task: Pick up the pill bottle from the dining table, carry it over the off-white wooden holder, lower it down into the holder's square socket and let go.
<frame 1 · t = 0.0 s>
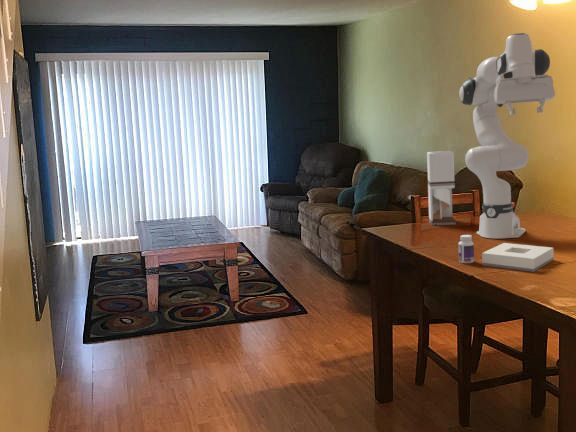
hand: (526, 113, 206), 52 cm above the table, tool tilted 20°, fingers open, 8 cm apart
pill bottle: (466, 262, 212), on the table
white dispenser: (442, 223, 288), on the table
socket holder: (517, 262, 206), on the table
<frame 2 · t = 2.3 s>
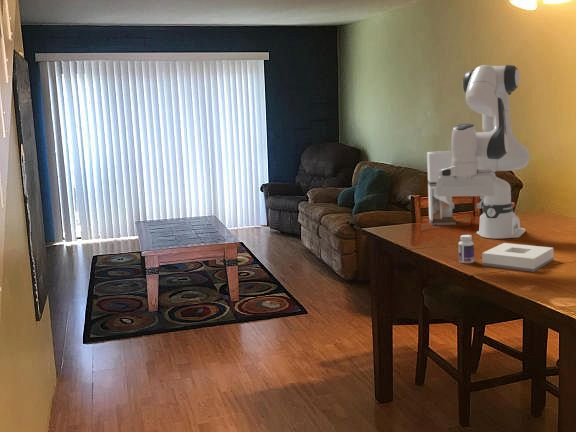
hand: (465, 208, 209), 20 cm above the table, tool pointing down, fingers open, 8 cm apart
nothing on the table moved.
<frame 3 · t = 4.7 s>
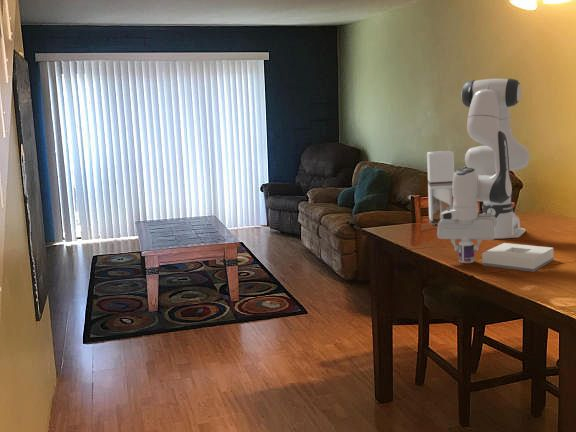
hand: (466, 250, 212), 4 cm above the table, tool pointing down, fingers closed on pill bottle, 5 cm apart
pill bottle: (466, 262, 212), on the table, touching gripper
everything else where it was.
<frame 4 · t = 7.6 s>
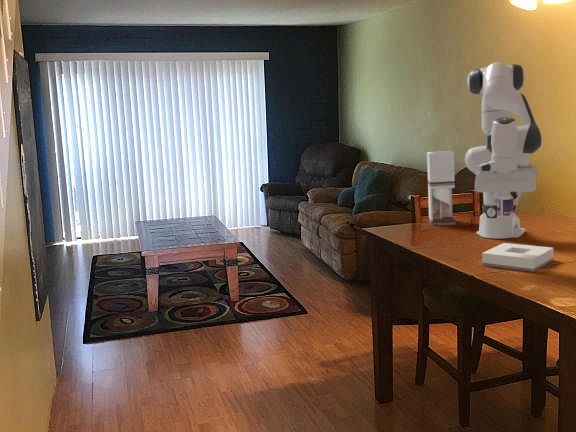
hand: (505, 204, 204), 21 cm above the table, tool pointing down, fingers closed on pill bottle, 5 cm apart
pill bottle: (505, 217, 205), point 16 cm above the table, touching gripper
everything else where it was.
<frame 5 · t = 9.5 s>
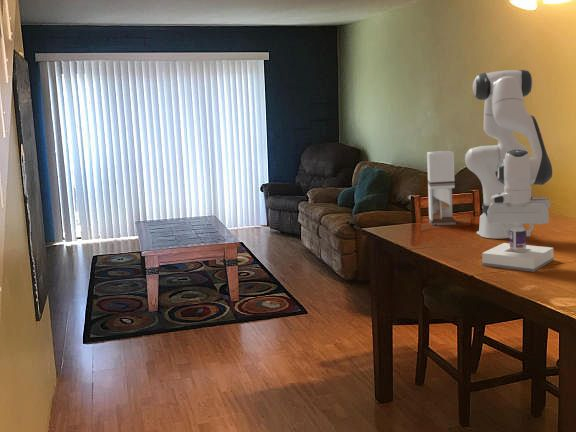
hand: (517, 235, 205), 10 cm above the table, tool pointing down, fingers closed on pill bottle, 5 cm apart
pill bottle: (517, 248, 205), point 5 cm above the table, touching gripper
everything else where it was.
when the fingers open (6 cm above the table, at t = 11.0 s): pill bottle stays where it is, resting on socket holder.
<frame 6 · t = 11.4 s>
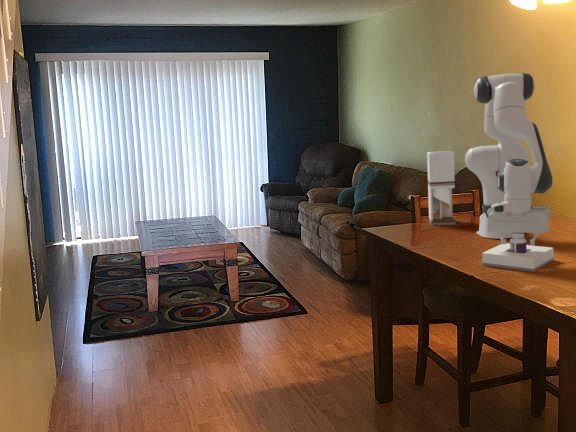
hand: (517, 244, 205), 7 cm above the table, tool pointing down, fingers open, 8 cm apart
pill bottle: (518, 260, 206), point 1 cm above the table, touching socket holder
everything else where it was.
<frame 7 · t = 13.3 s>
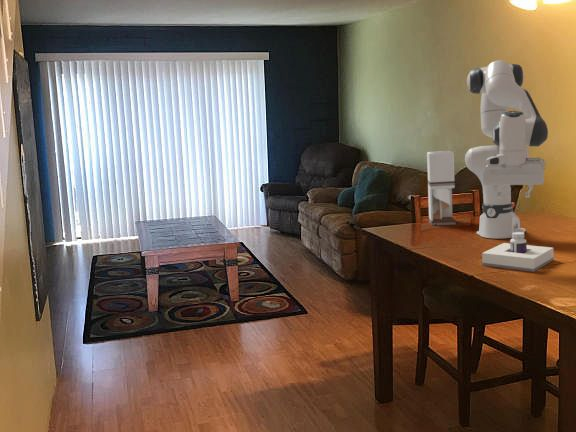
hand: (512, 197, 205), 23 cm above the table, tool pointing down, fingers open, 8 cm apart
nothing on the table moved.
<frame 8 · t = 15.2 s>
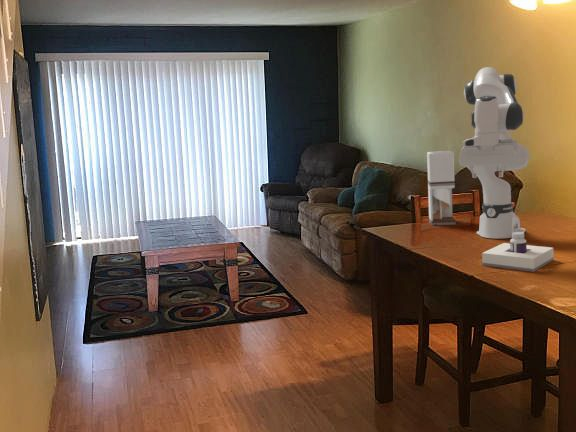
hand: (487, 177, 218), 29 cm above the table, tool pointing down, fingers open, 8 cm apart
nothing on the table moved.
at the end: pill bottle 0.2 cm off-centre on the socket holder, point 0.8 cm above the socket holder's base; pill bottle tilted 0°; the gripper is holding nothing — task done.
